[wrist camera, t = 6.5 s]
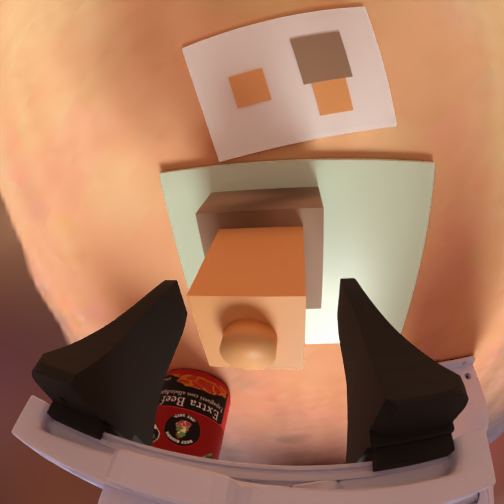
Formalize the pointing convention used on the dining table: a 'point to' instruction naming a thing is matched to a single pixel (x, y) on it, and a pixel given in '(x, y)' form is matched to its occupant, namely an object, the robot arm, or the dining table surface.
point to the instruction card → (291, 81)
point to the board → (328, 224)
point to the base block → (271, 223)
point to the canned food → (191, 414)
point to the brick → (252, 299)
